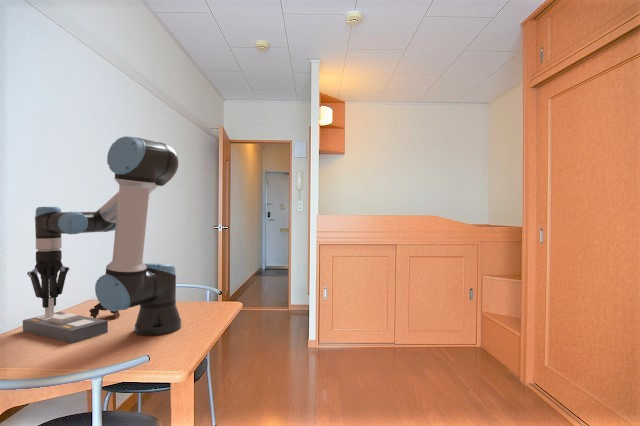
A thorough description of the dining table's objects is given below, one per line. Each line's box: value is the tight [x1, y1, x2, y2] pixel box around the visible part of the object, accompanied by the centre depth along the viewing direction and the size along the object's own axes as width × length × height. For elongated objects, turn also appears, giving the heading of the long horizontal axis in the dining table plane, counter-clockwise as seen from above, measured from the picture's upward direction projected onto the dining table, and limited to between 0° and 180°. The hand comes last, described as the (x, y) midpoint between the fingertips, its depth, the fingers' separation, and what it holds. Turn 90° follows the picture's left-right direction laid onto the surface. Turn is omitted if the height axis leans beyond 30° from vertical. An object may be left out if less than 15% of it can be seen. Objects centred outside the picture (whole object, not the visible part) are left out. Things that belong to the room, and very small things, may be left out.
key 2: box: [66, 319, 95, 327], centre depth 128 cm, size 6×6×3 cm
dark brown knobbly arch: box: [88, 302, 121, 320], centre depth 150 cm, size 12×9×8 cm
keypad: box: [22, 311, 109, 344], centre depth 132 cm, size 28×12×4 cm, turn 64°
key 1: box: [36, 314, 58, 321], centre depth 136 cm, size 6×6×3 cm
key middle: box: [50, 312, 80, 324], centre depth 132 cm, size 6×6×3 cm
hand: (49, 315), depth 136 cm, fingers closed
